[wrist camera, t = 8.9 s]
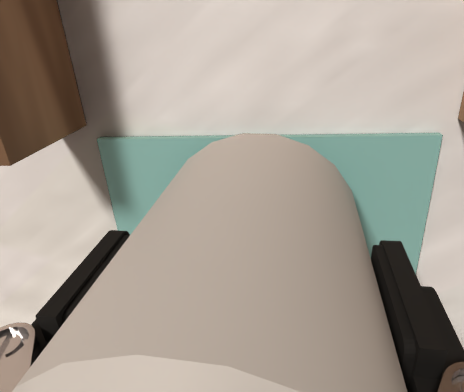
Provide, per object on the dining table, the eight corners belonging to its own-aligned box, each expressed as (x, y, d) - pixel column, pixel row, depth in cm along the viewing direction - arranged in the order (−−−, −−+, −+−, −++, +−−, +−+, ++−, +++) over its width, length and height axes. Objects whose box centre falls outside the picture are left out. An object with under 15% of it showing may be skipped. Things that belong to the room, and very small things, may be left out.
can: (259, 310, 18) (196, 759, 7) (139, 206, 16) (-170, 582, 6) (395, 222, 14) (652, 804, 4) (262, 81, 13) (82, 413, 2)
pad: (439, 132, 13) (442, 135, 13) (408, 297, 16) (410, 302, 16) (100, 137, 15) (96, 139, 15) (132, 280, 19) (130, 284, 18)
